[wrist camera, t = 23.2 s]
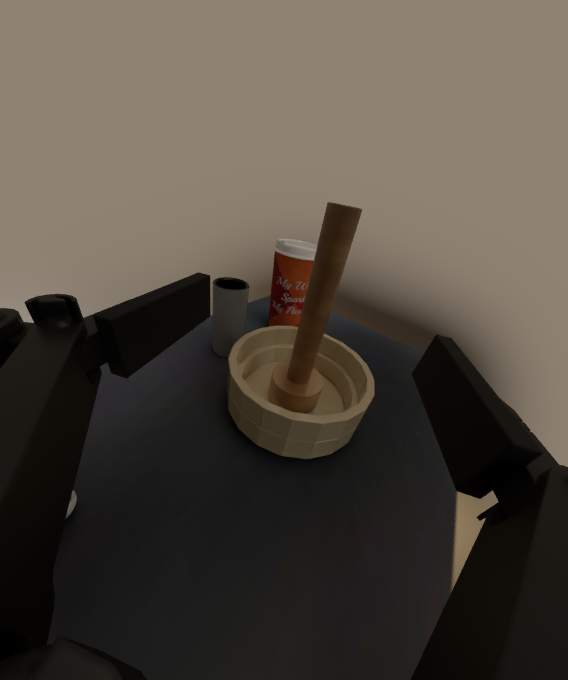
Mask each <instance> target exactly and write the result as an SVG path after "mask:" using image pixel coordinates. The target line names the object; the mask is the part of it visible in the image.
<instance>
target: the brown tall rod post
mask: <svg viewBox="0 0 568 680" xmlns="http://www.w3.org/2000/svg"><path fill="white" fill-rule="evenodd" d="M361 212H362V209H359V208H356V207H351V206H346V205H341V204H336V203H330V202H329V203H327V207H326V212H325V216H324V220H323V224H322V229H321V233H320V237H319V241H318V245H317V250H316V254H315V258H314V262H313V267H312V271H311V275H310V279H309V283H308V288H307V292H306V296H305V300H304V305H303V309H302V313H301V317H300V322H299V326H298V330H297V334H296V338H295V343H294V347H293V351H292V355H291V360H290V361H284V362H281V363H279V364H278V365H276V366H275V368H274V369H273V372H272V376H271V382H270V387H269V397H270V400H271V402H272V403H273V404H274V405H277V406H279V407H282V408H284V409H286V410H289V411H291V412H297V413H304V414H307V413H309V412H311V411H312V410H313V409H314V408H315V407H316V405H317V402H318V399H319V397H320V394H321V391H322V388H323V385H324V381H323V378H322V376H321V374H320V373H319V372H318V370H316V369H315V368H314V367H313V366H314V363H315V360H316V356H317V353H318V350H319V347H320V344H321V340H322V337H323V334H324V331H325V328H326V324H327V321H328V318H329V315H330V312H331V308H332V305H333V302H334V299H335V295H336V292H337V289H338V286H339V283H340V279H341V276H342V273H343V270H344V266H345V263H346V260H347V257H348V254H349V250H350V247H351V244H352V241H353V238H354V234H355V231H356V228H357V225H358V222H359V219H360V215H361Z"/></svg>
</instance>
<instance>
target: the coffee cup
mask: <svg viewBox="0 0 568 680" xmlns="http://www.w3.org/2000/svg"><path fill="white" fill-rule="evenodd" d="M273 249H274V251H275V257H274V268H273V278H272V287H271V300H270V312H269V327H270V326H295V327H298V326H299V322H300V317H301V313H302V309H303V305H304V300H305V296H306V292H307V288H308V283H309V279H310V275H311V271H312V267H313V262H314V258H315V254H316V250H317V245H315V244H312V243H308V242H304V241H299V240H293V239H278V240H277V243H276V246H275V247H274V248H273Z"/></svg>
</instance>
